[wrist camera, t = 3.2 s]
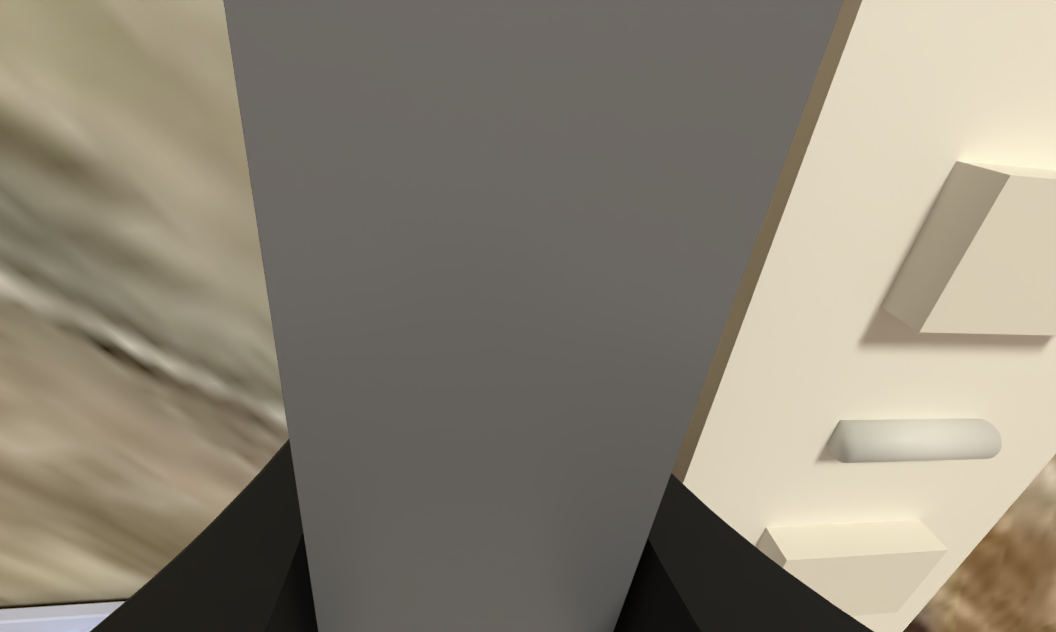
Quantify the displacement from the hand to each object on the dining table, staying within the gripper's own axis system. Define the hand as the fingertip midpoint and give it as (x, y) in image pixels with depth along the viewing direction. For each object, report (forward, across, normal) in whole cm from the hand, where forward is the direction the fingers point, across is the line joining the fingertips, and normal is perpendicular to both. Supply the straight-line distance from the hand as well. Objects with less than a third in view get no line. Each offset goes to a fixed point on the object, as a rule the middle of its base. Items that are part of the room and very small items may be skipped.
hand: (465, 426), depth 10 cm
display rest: (+2, -11, +1) cm, 11 cm away
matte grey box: (+2, 0, 0) cm, 2 cm away
